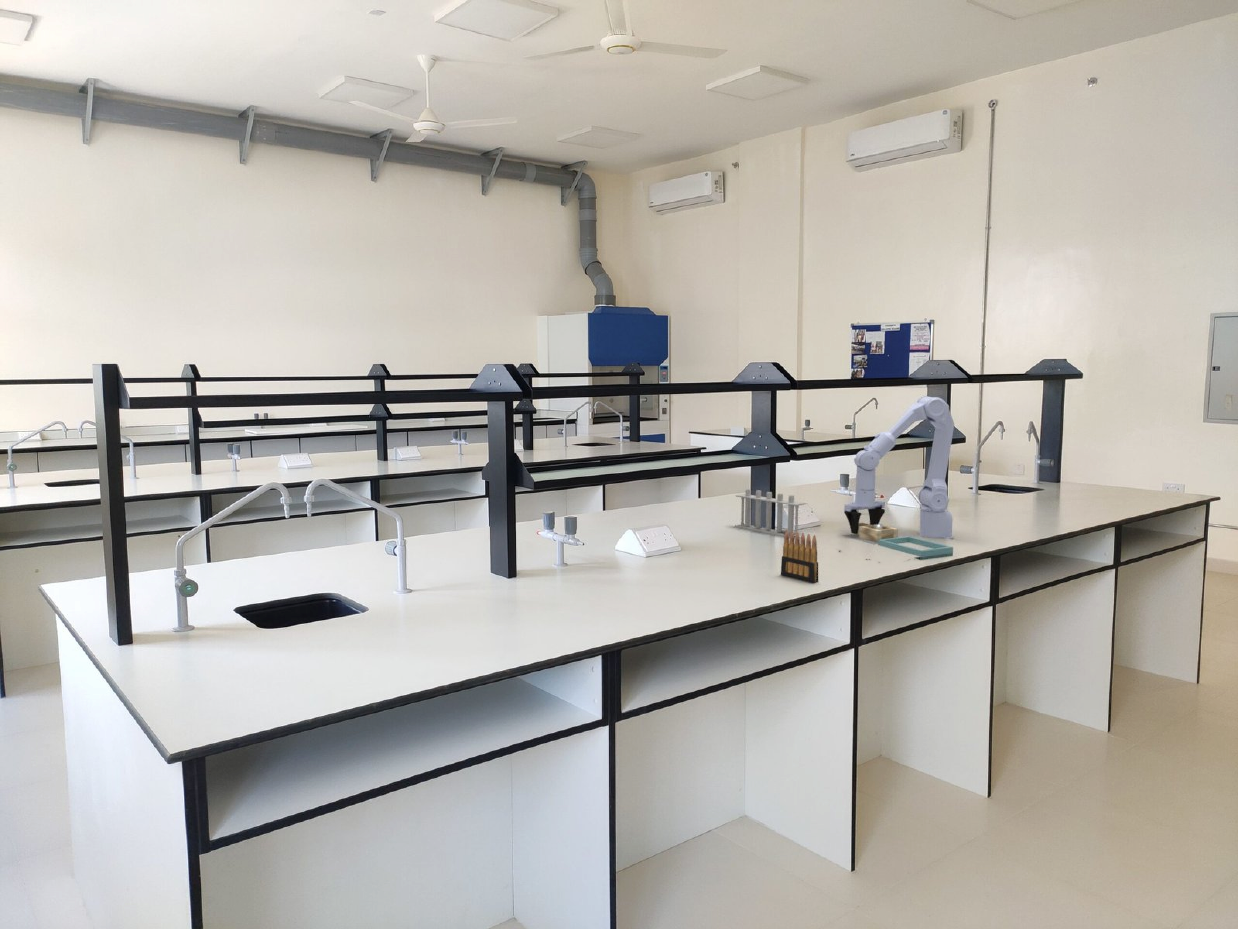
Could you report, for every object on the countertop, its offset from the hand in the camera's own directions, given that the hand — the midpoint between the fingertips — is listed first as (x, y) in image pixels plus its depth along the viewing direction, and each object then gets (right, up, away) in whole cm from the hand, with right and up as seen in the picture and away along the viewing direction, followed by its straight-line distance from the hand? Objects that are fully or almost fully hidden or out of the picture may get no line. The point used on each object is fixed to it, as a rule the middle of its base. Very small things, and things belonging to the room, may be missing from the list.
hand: (863, 532), depth 263 cm
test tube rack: (-28, -1, +10) cm, 30 cm away
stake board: (+2, -2, -4) cm, 5 cm away
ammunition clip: (-31, -8, -49) cm, 58 cm away
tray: (+9, -4, -19) cm, 21 cm away
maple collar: (+2, -1, -3) cm, 4 cm away
